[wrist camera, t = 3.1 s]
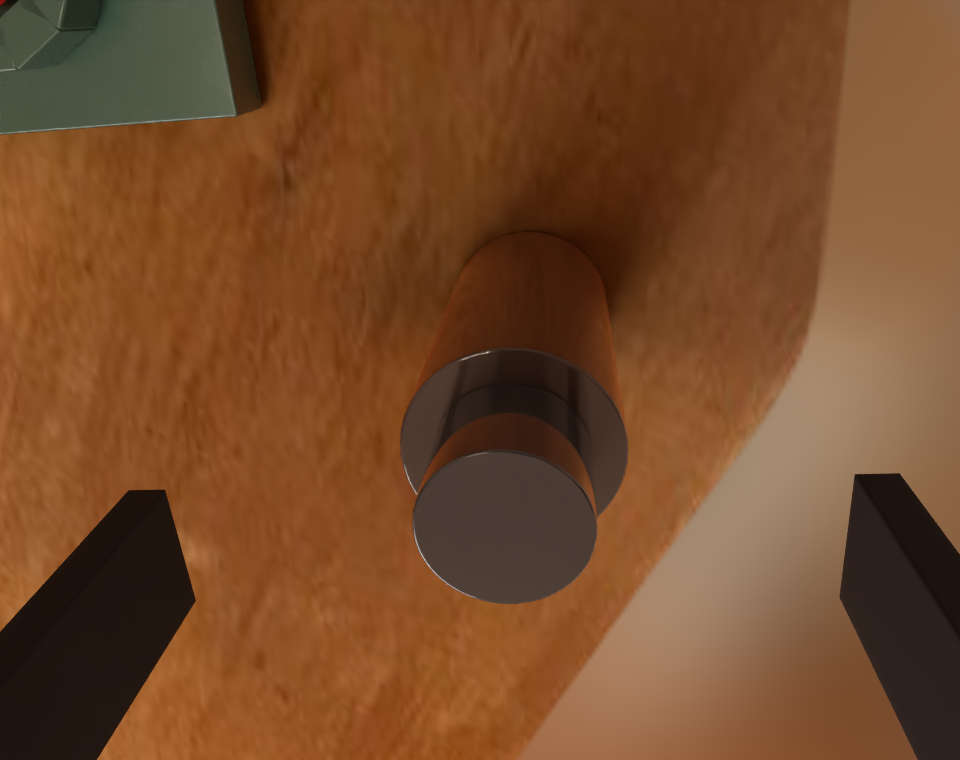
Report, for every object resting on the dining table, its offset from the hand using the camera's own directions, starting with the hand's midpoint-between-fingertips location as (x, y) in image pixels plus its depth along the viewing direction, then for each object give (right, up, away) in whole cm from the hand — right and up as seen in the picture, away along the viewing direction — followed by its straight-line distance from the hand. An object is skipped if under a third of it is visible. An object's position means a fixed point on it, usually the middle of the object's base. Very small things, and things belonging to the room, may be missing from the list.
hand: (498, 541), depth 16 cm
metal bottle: (+1, +6, +12) cm, 13 cm away
